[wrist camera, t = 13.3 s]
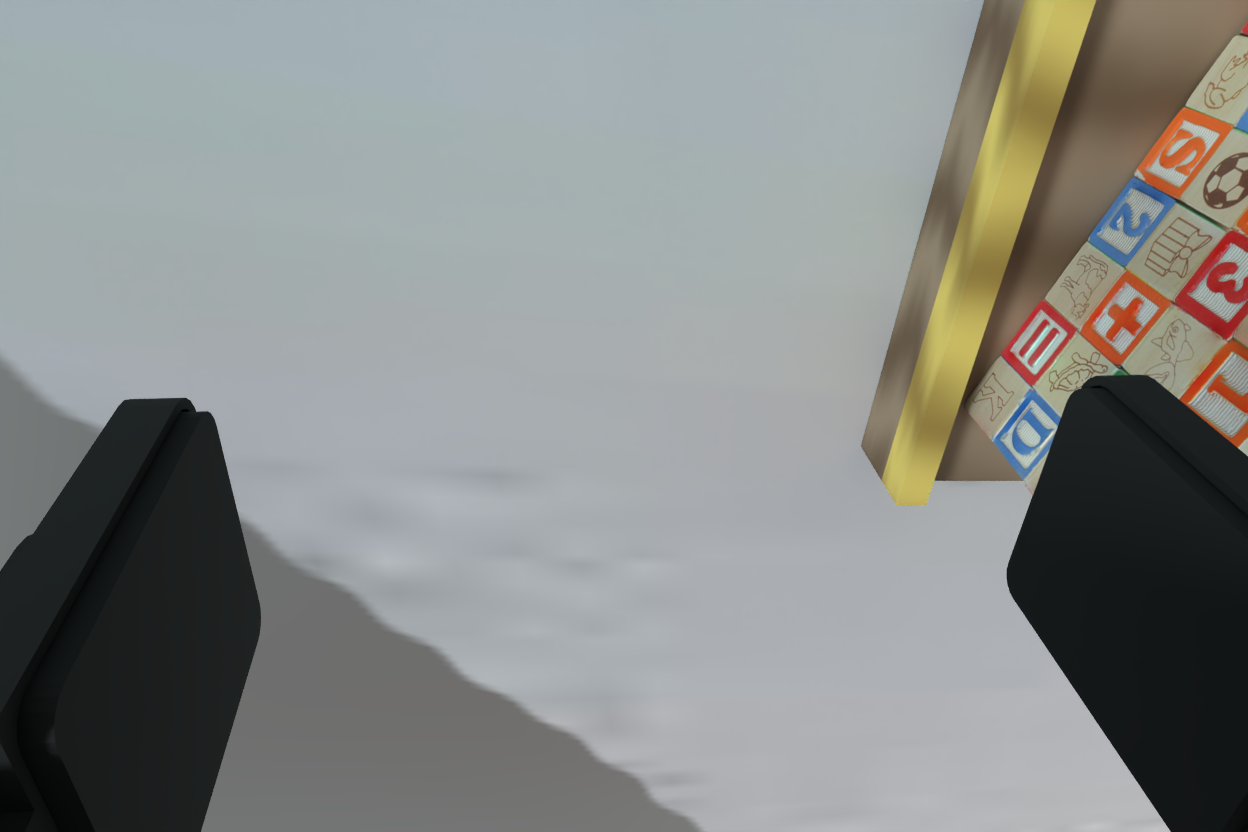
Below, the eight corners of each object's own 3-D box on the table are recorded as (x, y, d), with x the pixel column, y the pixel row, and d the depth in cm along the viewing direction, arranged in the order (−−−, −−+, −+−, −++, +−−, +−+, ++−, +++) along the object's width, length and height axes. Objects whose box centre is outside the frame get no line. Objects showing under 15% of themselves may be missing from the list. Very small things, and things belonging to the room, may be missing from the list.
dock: (1012, -101, 34) (1085, -93, 30) (1441, -56, 37) (1563, -43, 33) (861, 446, 47) (896, 505, 43) (1185, 449, 50) (1248, 504, 46)
